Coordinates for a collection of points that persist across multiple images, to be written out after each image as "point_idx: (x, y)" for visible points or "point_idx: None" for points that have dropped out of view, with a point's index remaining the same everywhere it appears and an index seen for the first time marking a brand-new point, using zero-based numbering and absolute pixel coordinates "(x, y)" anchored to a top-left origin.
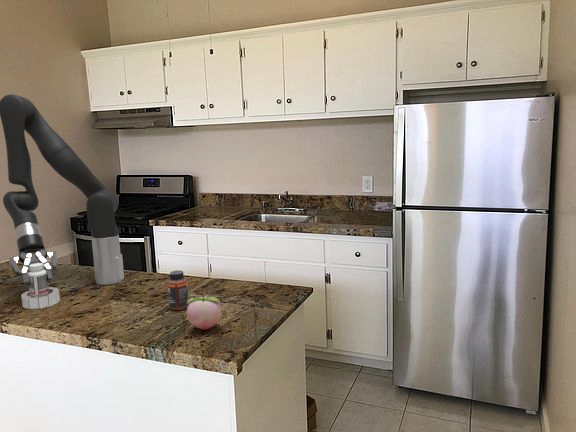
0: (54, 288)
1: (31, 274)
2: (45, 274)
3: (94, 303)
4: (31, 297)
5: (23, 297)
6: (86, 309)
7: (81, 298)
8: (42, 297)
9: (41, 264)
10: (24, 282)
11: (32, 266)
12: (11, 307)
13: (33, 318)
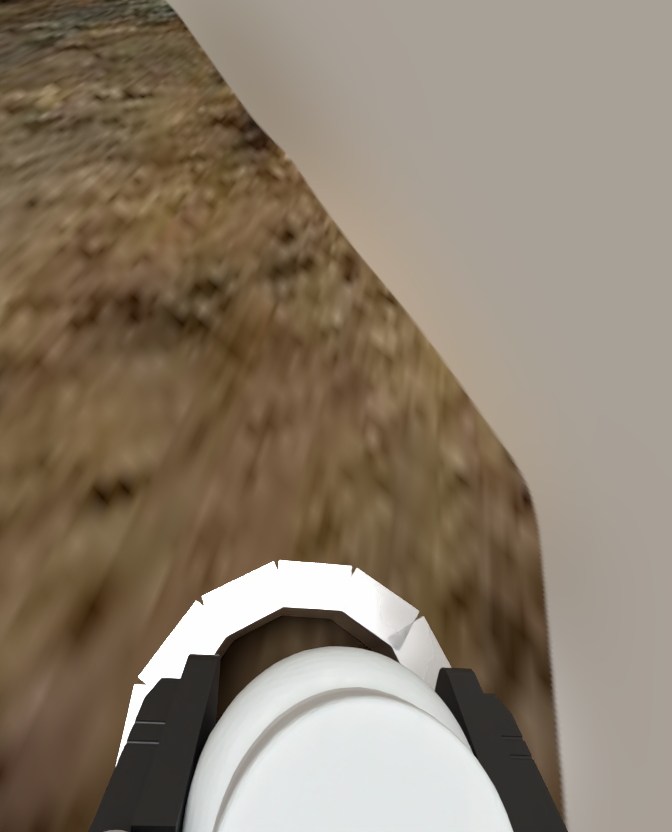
0: None
1: (441, 703)
2: (235, 698)
3: (35, 413)
4: (398, 617)
5: None
6: (131, 353)
7: (16, 596)
8: (319, 564)
9: (266, 787)
10: (497, 710)
11: (462, 745)
12: None
13: (398, 422)
